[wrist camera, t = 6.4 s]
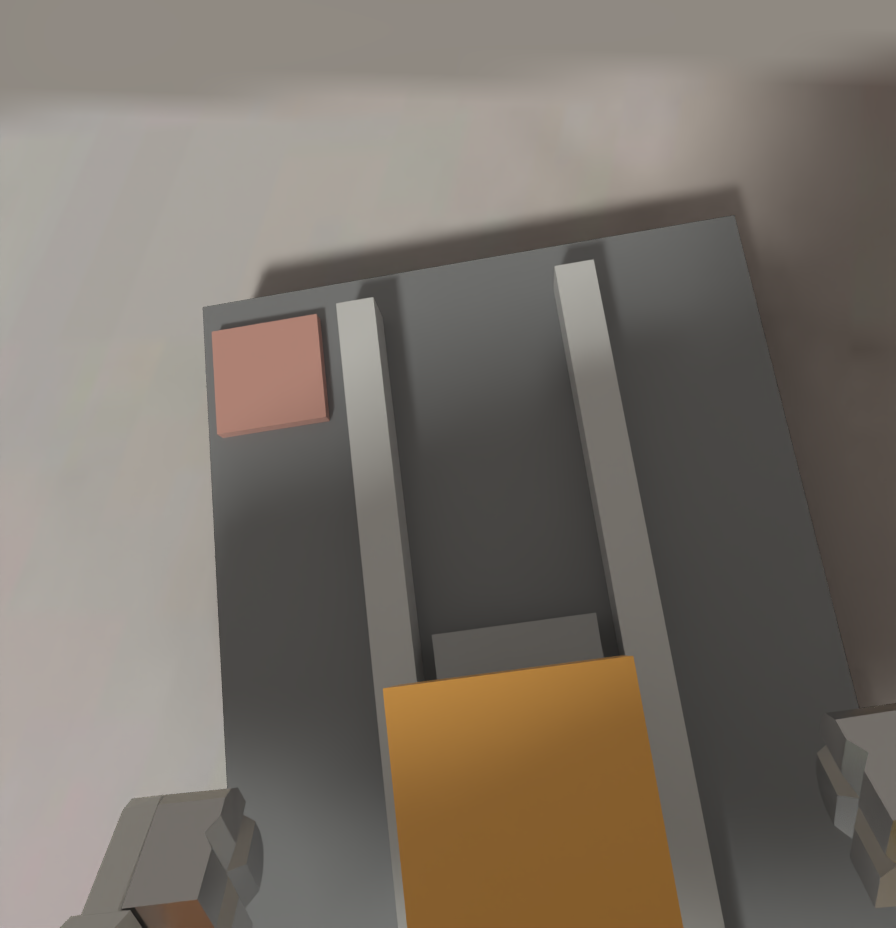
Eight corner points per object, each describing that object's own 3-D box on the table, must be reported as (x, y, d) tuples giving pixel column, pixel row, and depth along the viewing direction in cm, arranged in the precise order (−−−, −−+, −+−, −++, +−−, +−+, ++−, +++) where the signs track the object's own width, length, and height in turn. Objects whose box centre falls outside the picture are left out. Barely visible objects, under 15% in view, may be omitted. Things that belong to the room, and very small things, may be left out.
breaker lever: (631, 840, 14) (724, 1026, 7) (465, 859, 14) (398, 1056, 7) (591, 615, 15) (640, 583, 8) (438, 635, 15) (357, 623, 8)
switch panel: (957, 1273, 13) (1073, 1445, 11) (296, 1318, 14) (236, 1486, 11) (713, 260, 18) (746, 188, 16) (235, 341, 19) (183, 286, 16)
